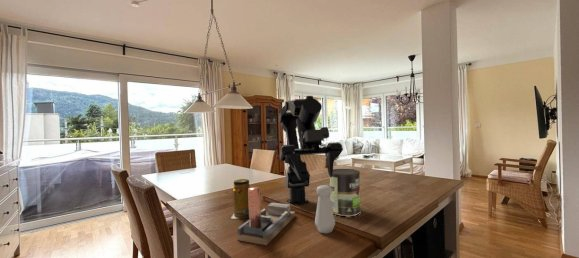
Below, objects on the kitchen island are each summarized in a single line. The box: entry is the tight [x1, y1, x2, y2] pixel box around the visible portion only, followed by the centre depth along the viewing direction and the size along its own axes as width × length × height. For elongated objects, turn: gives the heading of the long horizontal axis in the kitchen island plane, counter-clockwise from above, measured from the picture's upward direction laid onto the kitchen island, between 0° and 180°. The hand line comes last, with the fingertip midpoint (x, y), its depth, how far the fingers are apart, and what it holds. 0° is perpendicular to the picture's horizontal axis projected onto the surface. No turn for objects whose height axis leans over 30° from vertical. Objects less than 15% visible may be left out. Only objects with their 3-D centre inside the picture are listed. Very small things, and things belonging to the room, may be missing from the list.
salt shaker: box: [314, 184, 336, 234], centre depth 73 cm, size 6×6×13 cm
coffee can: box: [329, 168, 361, 216], centre depth 87 cm, size 10×10×14 cm
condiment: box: [230, 178, 250, 220], centre depth 88 cm, size 7×8×12 cm
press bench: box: [236, 202, 296, 246], centre depth 77 cm, size 21×9×4 cm, turn 157°
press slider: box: [243, 186, 273, 236], centre depth 71 cm, size 6×6×12 cm
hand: (316, 178), depth 73 cm, fingers open, 9 cm apart
